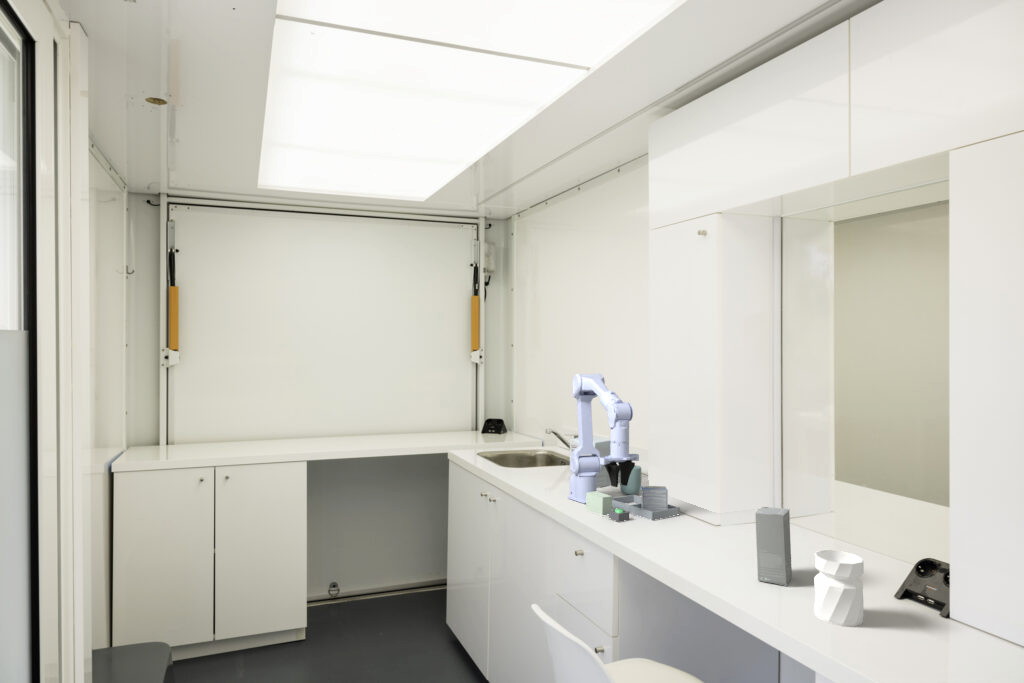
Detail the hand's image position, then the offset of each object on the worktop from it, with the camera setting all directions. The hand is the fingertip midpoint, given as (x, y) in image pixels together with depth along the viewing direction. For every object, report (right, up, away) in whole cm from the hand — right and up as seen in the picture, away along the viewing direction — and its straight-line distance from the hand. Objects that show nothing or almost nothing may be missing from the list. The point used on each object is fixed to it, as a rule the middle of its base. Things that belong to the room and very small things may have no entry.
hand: (619, 485), depth 197 cm
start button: (0, -10, 0) cm, 10 cm away
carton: (-5, -11, +8) cm, 14 cm away
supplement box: (-2, -11, +52) cm, 53 cm away
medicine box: (+12, -11, +7) cm, 18 cm away
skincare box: (+27, -10, -50) cm, 58 cm away
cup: (+10, -11, +34) cm, 37 cm away
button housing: (0, -10, 0) cm, 10 cm away
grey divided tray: (+9, -11, +11) cm, 18 cm away
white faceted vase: (+32, -10, -71) cm, 78 cm away
